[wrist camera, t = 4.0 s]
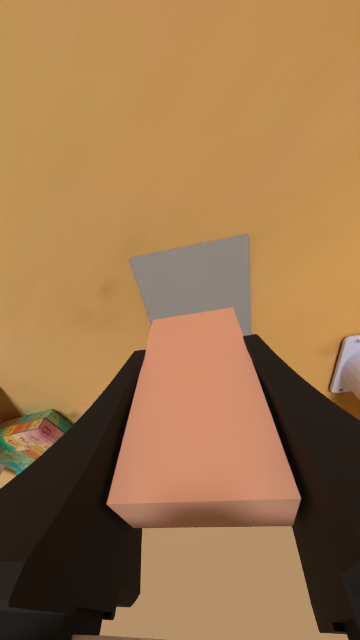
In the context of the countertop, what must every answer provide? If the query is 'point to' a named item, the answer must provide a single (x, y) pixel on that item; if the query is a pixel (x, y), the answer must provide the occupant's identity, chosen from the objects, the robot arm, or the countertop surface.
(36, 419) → the puzzle game
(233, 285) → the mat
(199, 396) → the domino
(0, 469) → the lighter
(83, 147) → the countertop surface
